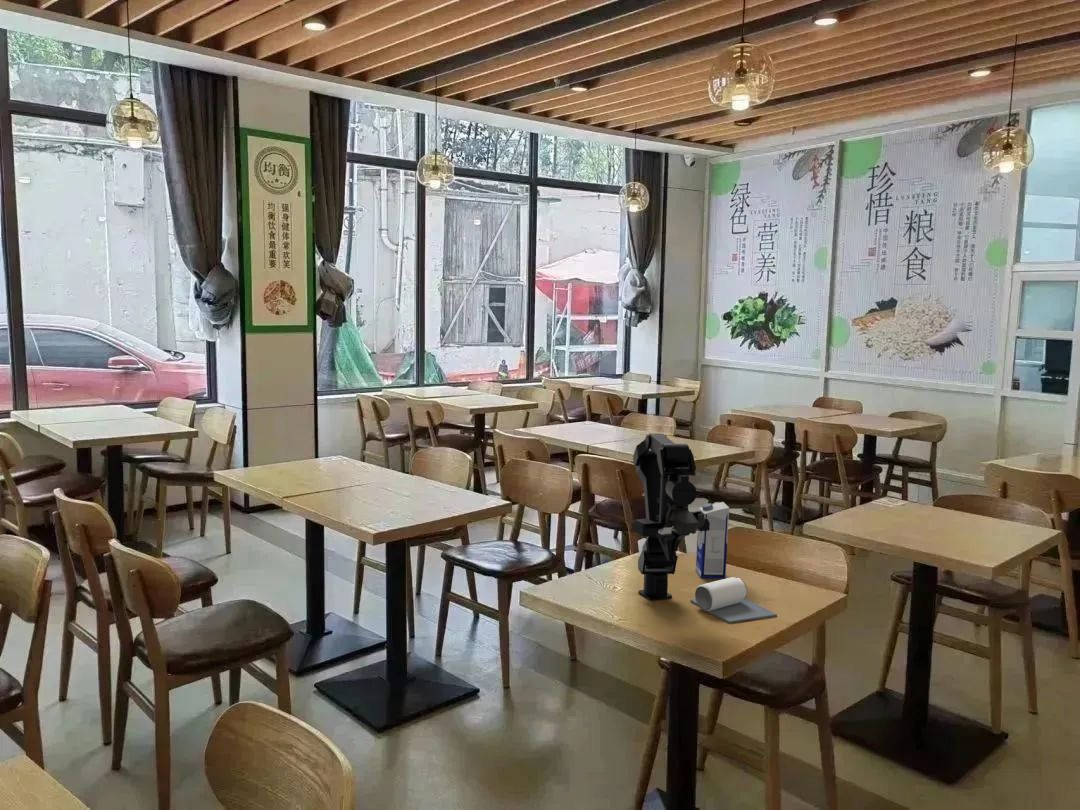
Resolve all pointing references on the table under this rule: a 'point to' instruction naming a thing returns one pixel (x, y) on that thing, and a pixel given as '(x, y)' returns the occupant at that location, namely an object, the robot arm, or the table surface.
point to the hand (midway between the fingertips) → (669, 560)
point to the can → (720, 593)
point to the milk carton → (713, 542)
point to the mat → (741, 611)
